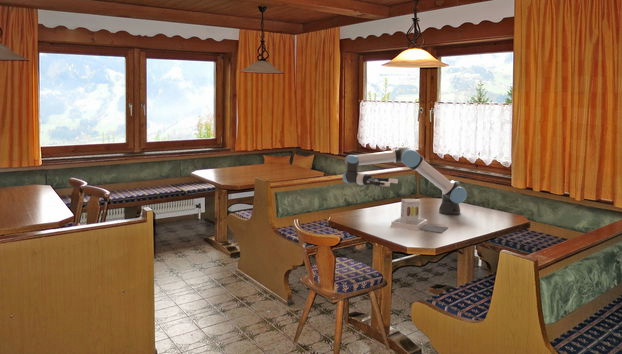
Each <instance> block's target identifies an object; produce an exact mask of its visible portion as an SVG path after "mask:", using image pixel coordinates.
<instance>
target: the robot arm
mask: <svg viewBox="0 0 622 354" xmlns="http://www.w3.org/2000/svg"><path fill="white" fill-rule="evenodd" d="M392 162H393V163H397V164H398V163H402V164H403V165H404V166H406V167H407V168H408V169H410V170H412V171H413V172H414V171H416V172H418V173H419V174H420V175H421V176H422V177H424V178H425V179H427V180H428V181H429V182H430V183H432V184H433V185H434V186H435V187H436V188H438V189H439V190H441V193H442V194H441V203H440V205H439V209H438V212H439V213H440V214H445V215H452V216H453V215H454V216H455V215H459V214H461V208H460V207H461V206H460V204H462V203H463V202H465V200H466V199H467V197H468V196H467V195H468V192H467V190H466V189H465V187H462V186H461V184H460V181H458V180H450V179H449V178H447V177H446V176H445V175H443V174H442V173H440V171H438V170H437V169H435V168H434V166H432V165H430V164H429V163H428V162H426V160H425V158H424V156H423V155H421V154H420V153H419V152H418V151H417V150H416V149H414V148H411V147H408V146H406V147H401V148H400V147H399V148H395V149H392V150H387V151H380V152H379V151H378V152H373V153H372V152H371V153H362V154H361V153H360V154H348V155H347V156H346V157H345V158H344V163H345V165H346V171H344V172H343V174H342V175H343V176H342V181H343V182H344V183H347V184H353V185H359V186H362V185H363V186H368V187H369V186H370V185H372V186H377V187H381V186H382V187H391V186H390V185H391V183H392V184H398V183H399V179H397V178H390V177H389V176H388V177H378V176H377V177H376V176H374V177H372V175H371V174H369V173H361V172H360V173H359V172H358V170H359V169H358V167H359V166H363V165H365V166H366V165H375V164H381V163H383V164H384V163H392Z"/></svg>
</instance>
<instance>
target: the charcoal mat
mask: <svg viewBox="0 0 622 354" xmlns="http://www.w3.org/2000/svg"><path fill="white" fill-rule="evenodd" d="M448 229H449V227H447V226H440V225H432V224H428V223H427V224H426V225H425V226H423V227H421V228H420V229H419V231H423V230H424V232H429V231H430V232H431V233H436V232H437V233H436V234H443V233H444V232H446V230H448Z"/></svg>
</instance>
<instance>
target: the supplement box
mask: <svg viewBox="0 0 622 354" xmlns="http://www.w3.org/2000/svg"><path fill="white" fill-rule="evenodd" d="M420 204H421V203H420V200H417V199H416V198H401V203H400V205H401V206H400V217H401V220H400V222H399V223H406V224H413V225H418V224H419V218H420Z"/></svg>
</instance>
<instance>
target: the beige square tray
mask: <svg viewBox="0 0 622 354" xmlns="http://www.w3.org/2000/svg"><path fill="white" fill-rule="evenodd" d="M400 220H401V216H399V217H397V218H395V219H394V220H392V221H391V223H390V226H391V227H395V228H399V229H400V228H401V229H406V230H407V229H408V230H412V231H413V230H415V231H418V230H420V229H421V228H422V227H424V225H427V224H428V219H427V218H426V219H425V218H420V217H419V223H418V225H413V224H406V223H400Z"/></svg>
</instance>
